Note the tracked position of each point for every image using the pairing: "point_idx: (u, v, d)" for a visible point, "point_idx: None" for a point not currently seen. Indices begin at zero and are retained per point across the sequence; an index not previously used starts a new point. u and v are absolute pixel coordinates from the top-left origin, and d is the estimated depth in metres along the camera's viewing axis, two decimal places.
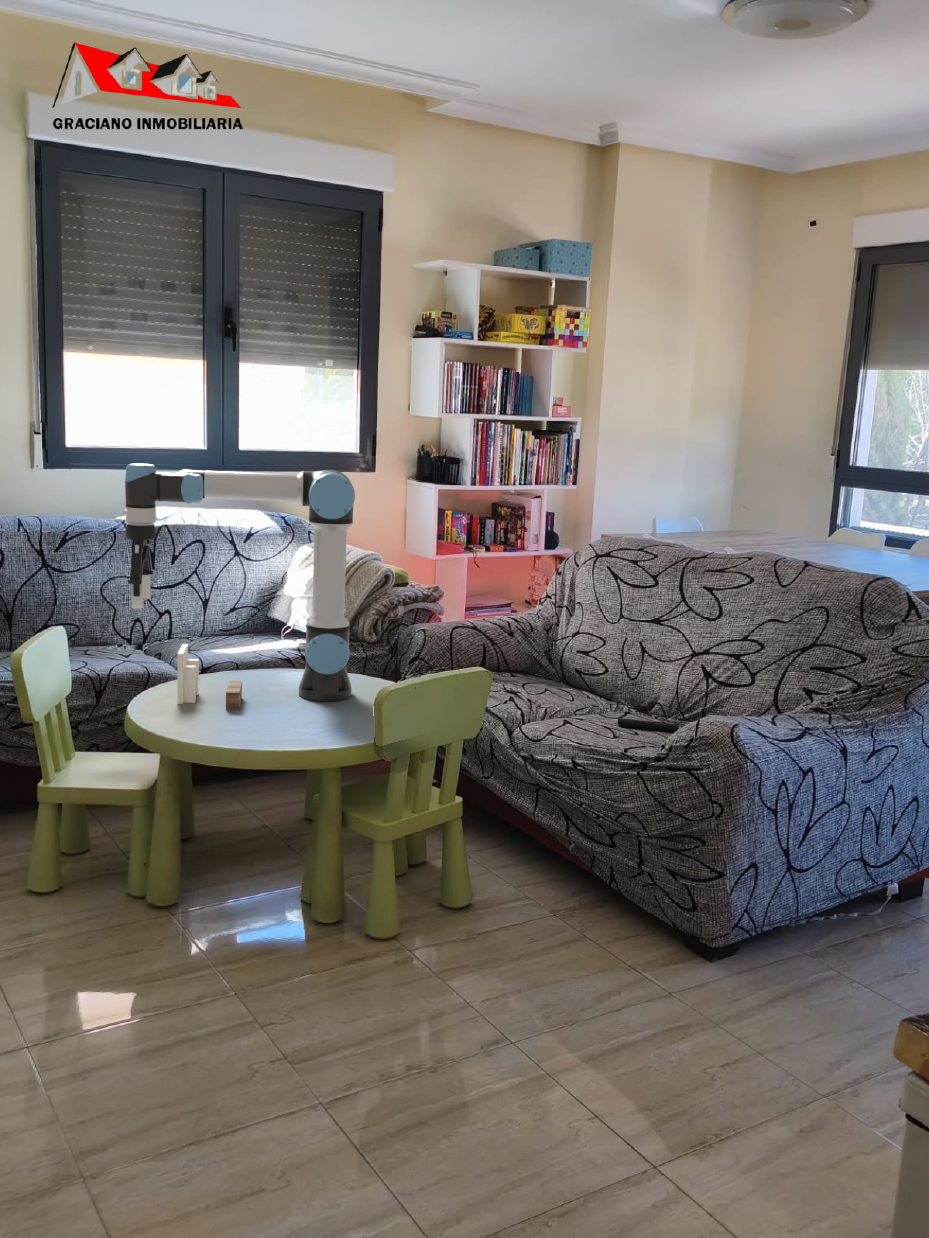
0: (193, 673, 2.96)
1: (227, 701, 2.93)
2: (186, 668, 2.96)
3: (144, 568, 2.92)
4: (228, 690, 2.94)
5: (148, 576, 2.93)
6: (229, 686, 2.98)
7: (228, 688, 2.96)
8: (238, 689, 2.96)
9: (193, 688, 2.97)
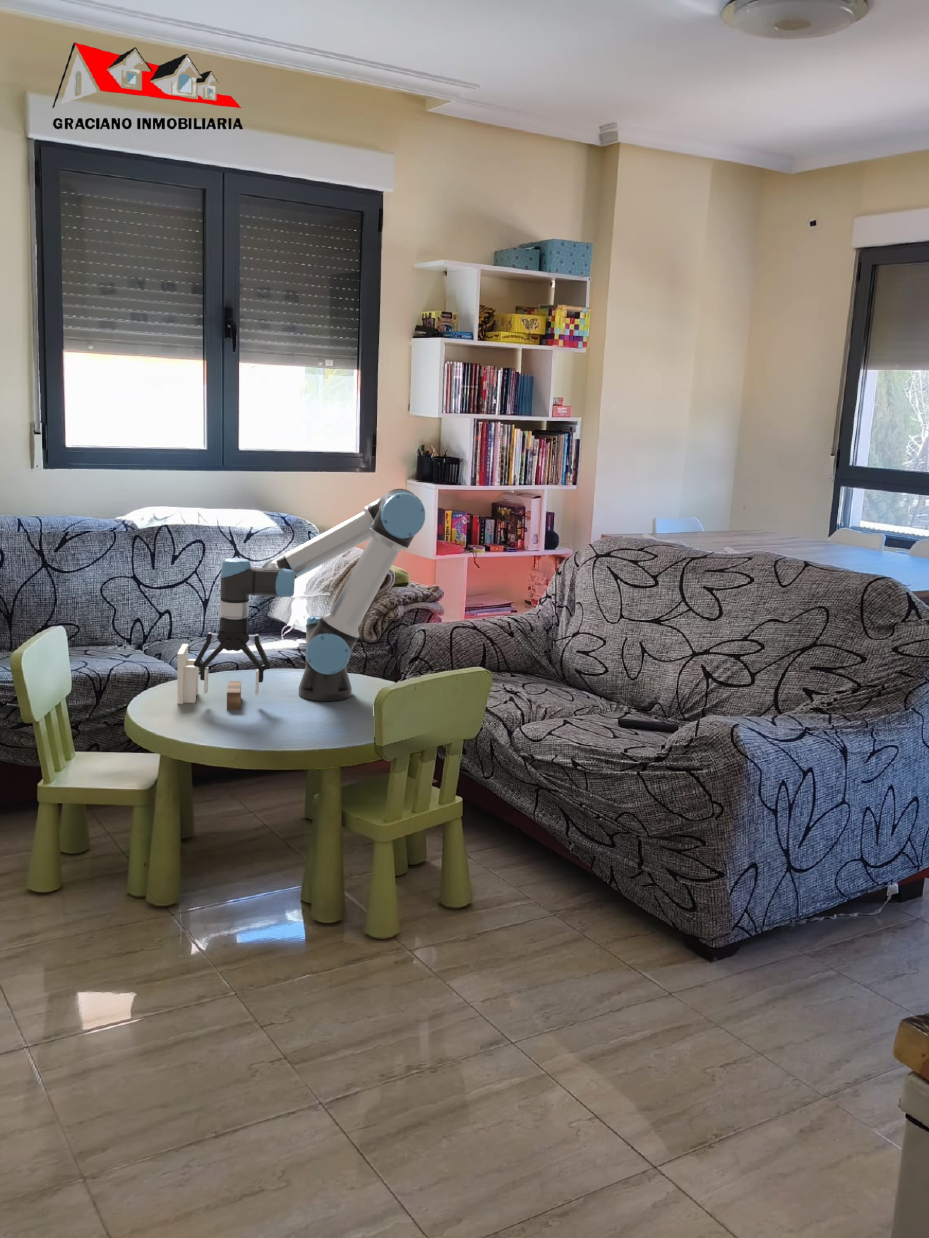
0: (193, 673, 2.96)
1: (228, 701, 2.93)
2: (186, 668, 2.96)
3: None
4: (229, 690, 2.94)
5: (256, 672, 2.95)
6: (229, 686, 2.98)
7: (228, 688, 2.96)
8: (238, 689, 2.96)
9: (193, 688, 2.97)
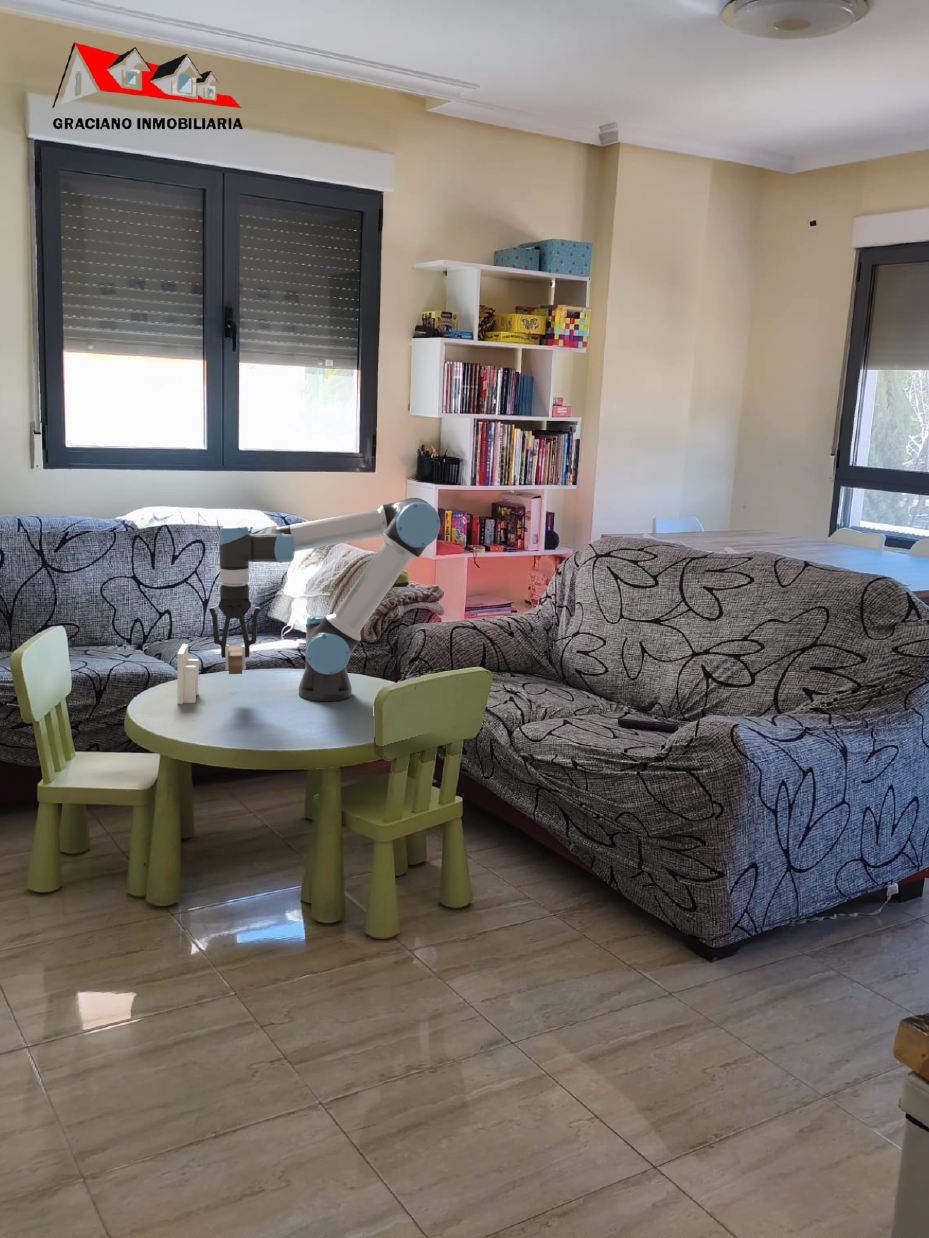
0: (193, 673, 2.96)
1: (230, 665, 2.91)
2: (186, 668, 2.96)
3: None
4: (230, 654, 2.92)
5: None
6: (230, 650, 2.96)
7: (230, 652, 2.94)
8: (240, 653, 2.94)
9: (193, 688, 2.97)
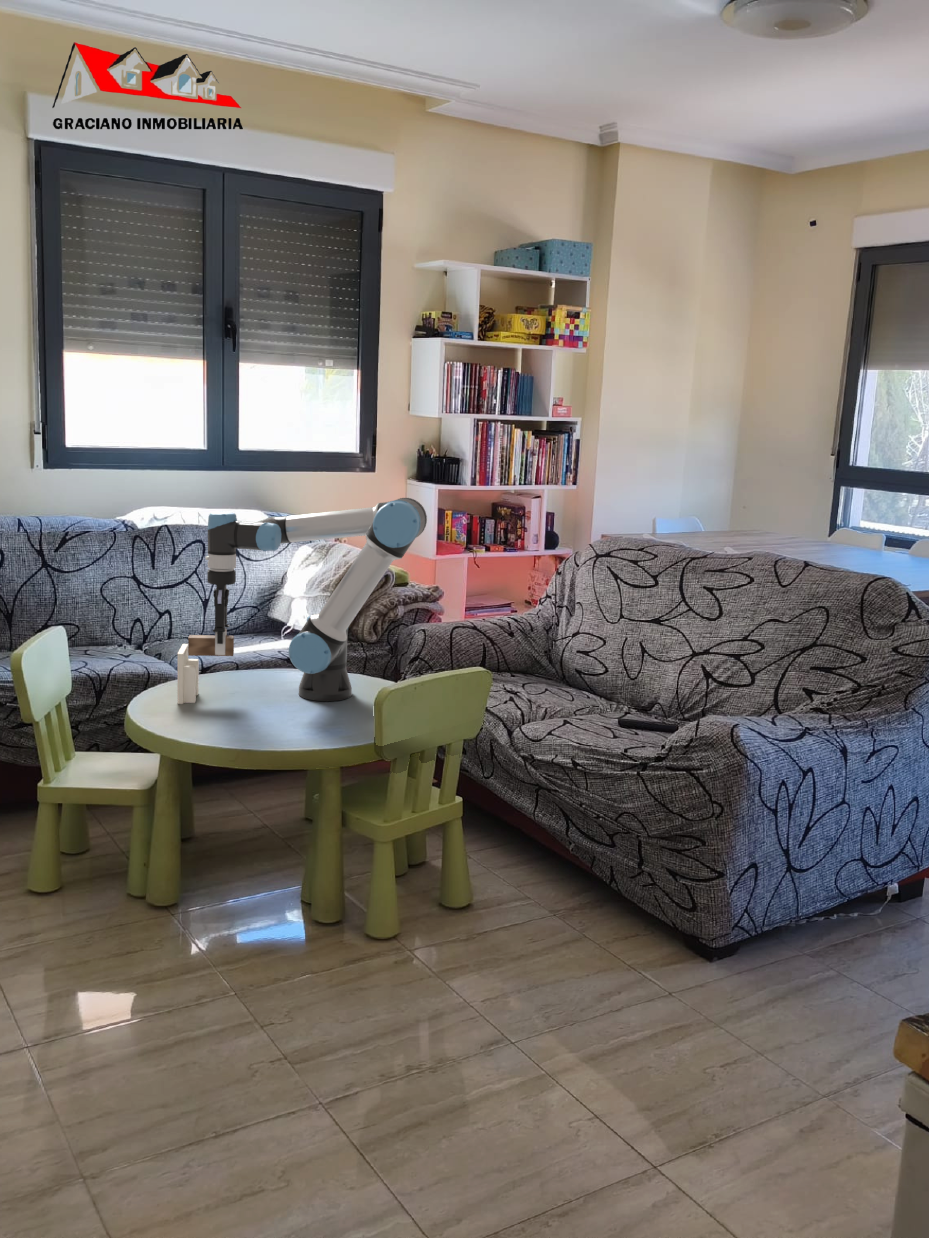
0: (193, 673, 2.96)
1: (233, 646, 3.00)
2: (186, 668, 2.96)
3: None
4: (225, 637, 2.99)
5: (225, 629, 3.02)
6: (210, 637, 2.99)
7: None
8: None
9: (193, 688, 2.97)
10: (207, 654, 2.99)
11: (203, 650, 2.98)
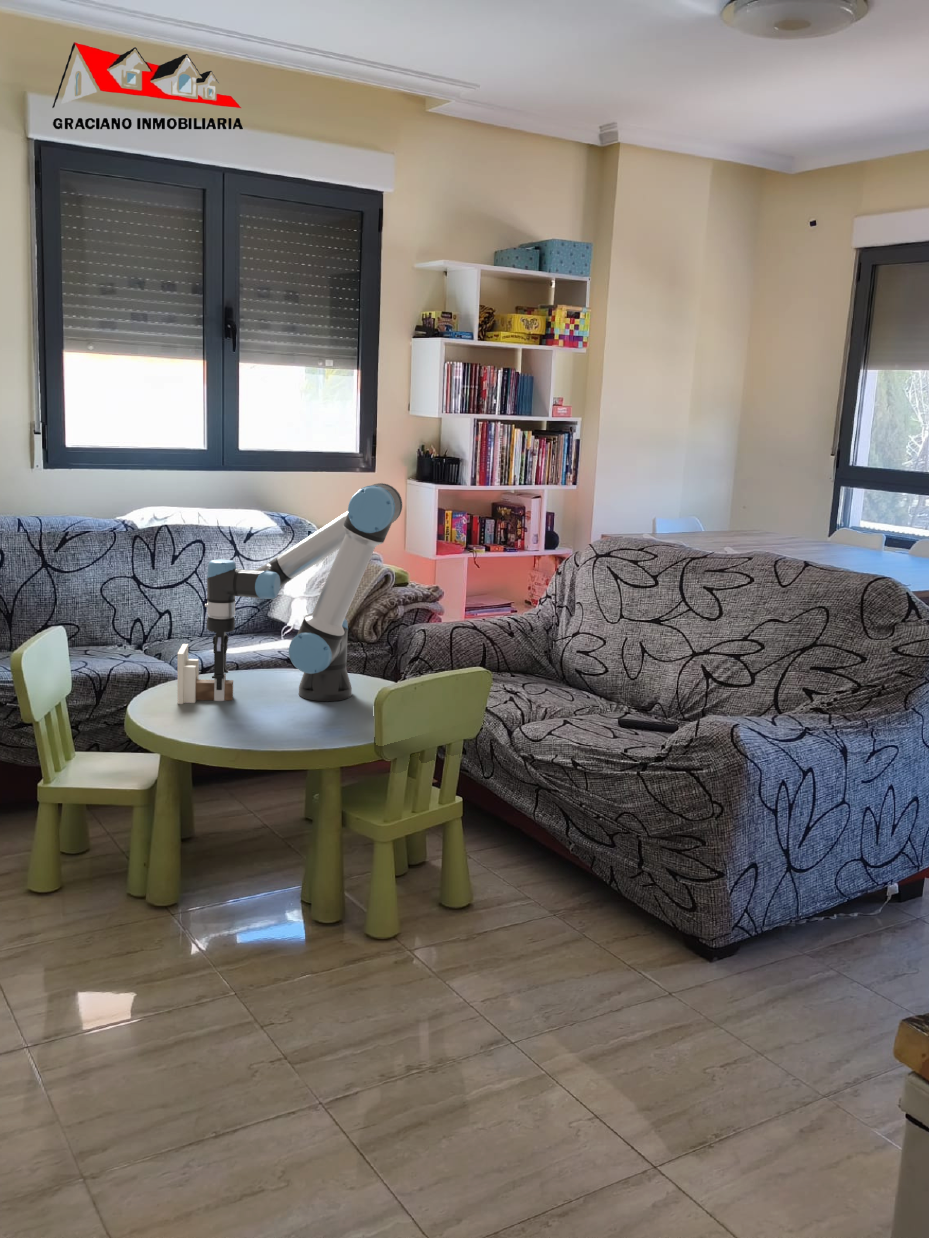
0: (193, 673, 2.96)
1: (232, 691, 3.02)
2: (186, 668, 2.96)
3: None
4: None
5: (224, 675, 3.04)
6: (209, 682, 3.01)
7: None
8: None
9: (193, 688, 2.97)
10: (206, 699, 3.02)
11: (202, 695, 3.01)
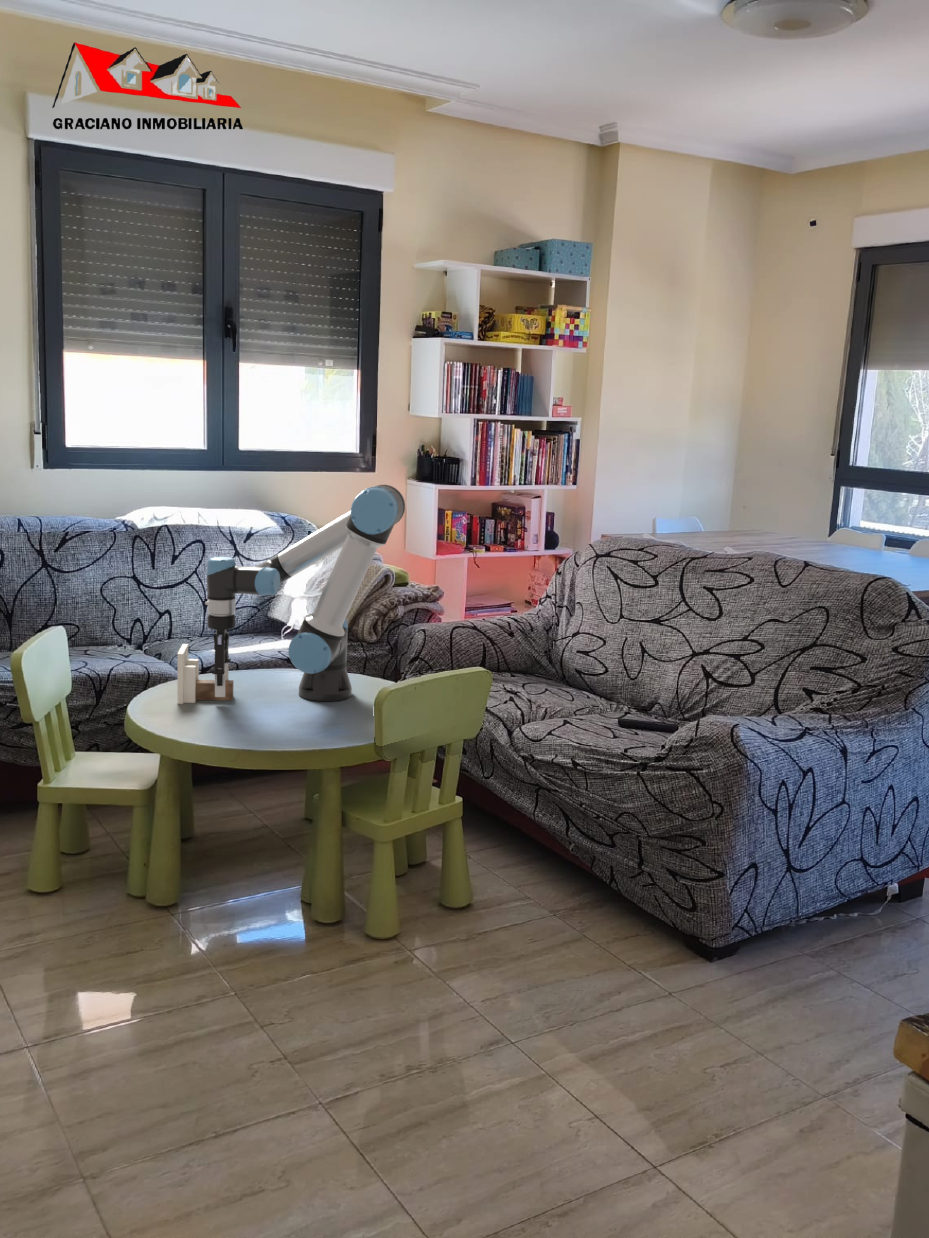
0: (193, 673, 2.96)
1: (232, 691, 3.02)
2: (186, 668, 2.96)
3: None
4: (225, 682, 3.02)
5: (226, 664, 3.07)
6: (209, 682, 3.01)
7: None
8: None
9: (193, 688, 2.97)
10: (206, 699, 3.02)
11: (202, 695, 3.01)
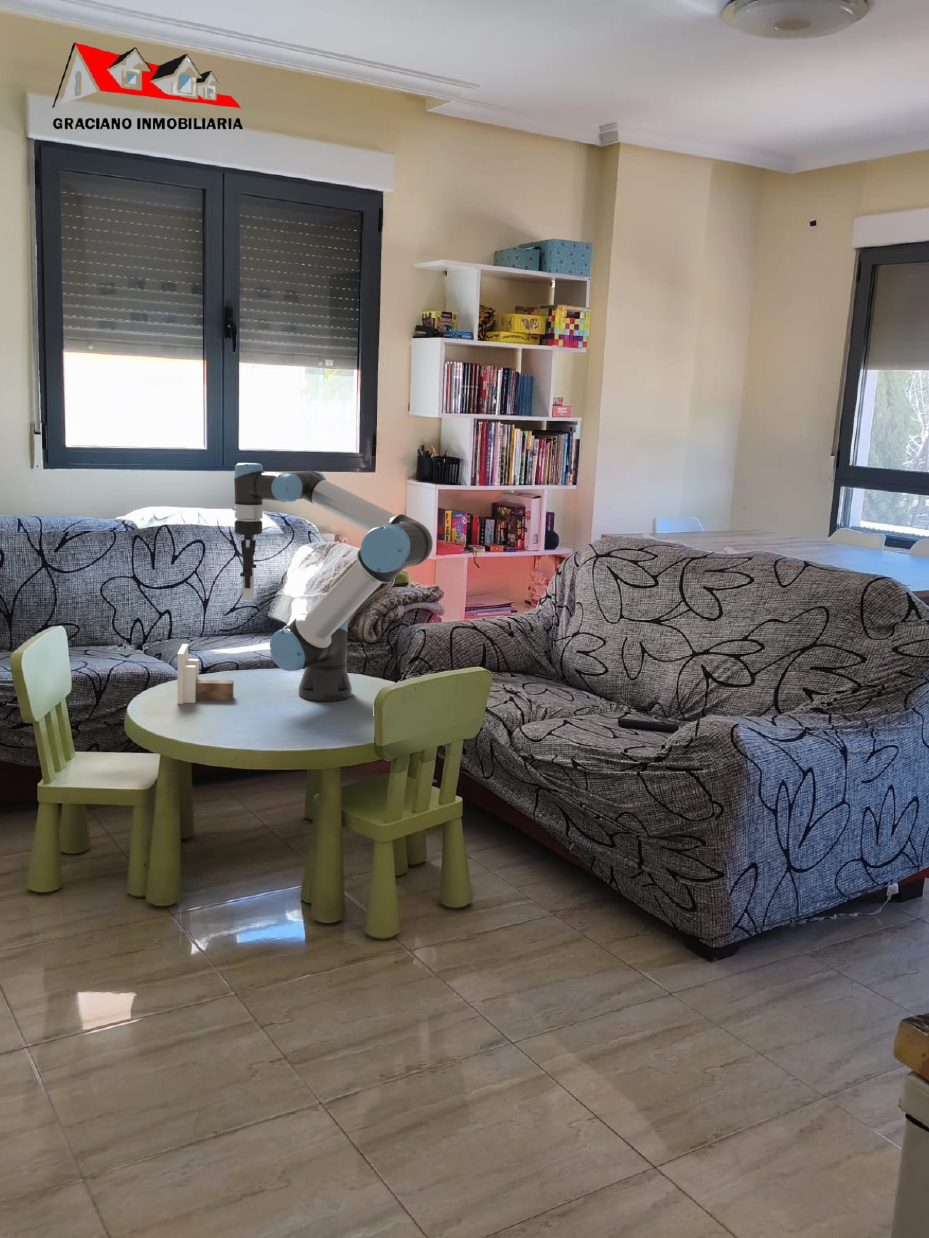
0: (193, 673, 2.96)
1: (232, 691, 3.02)
2: (186, 668, 2.96)
3: None
4: (225, 682, 3.02)
5: (252, 570, 3.09)
6: (209, 682, 3.01)
7: (217, 682, 3.01)
8: (222, 680, 3.04)
9: (193, 688, 2.97)
10: (206, 699, 3.02)
11: (202, 695, 3.01)
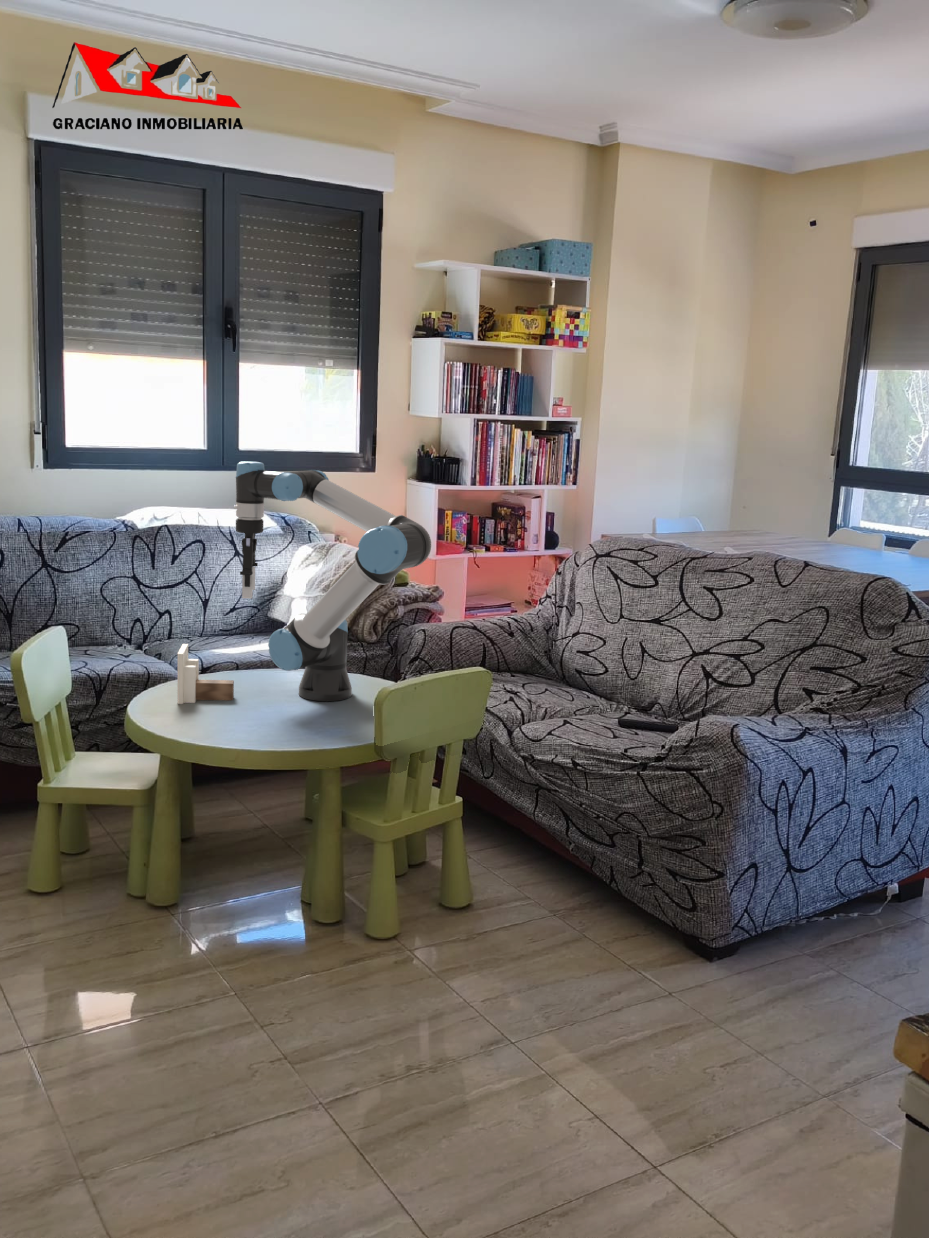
0: (193, 673, 2.96)
1: (232, 691, 3.02)
2: (186, 668, 2.96)
3: None
4: (225, 683, 3.02)
5: (253, 568, 3.10)
6: (210, 682, 3.01)
7: (217, 683, 3.01)
8: (222, 680, 3.04)
9: (193, 688, 2.97)
10: (207, 699, 3.02)
11: (203, 695, 3.01)
